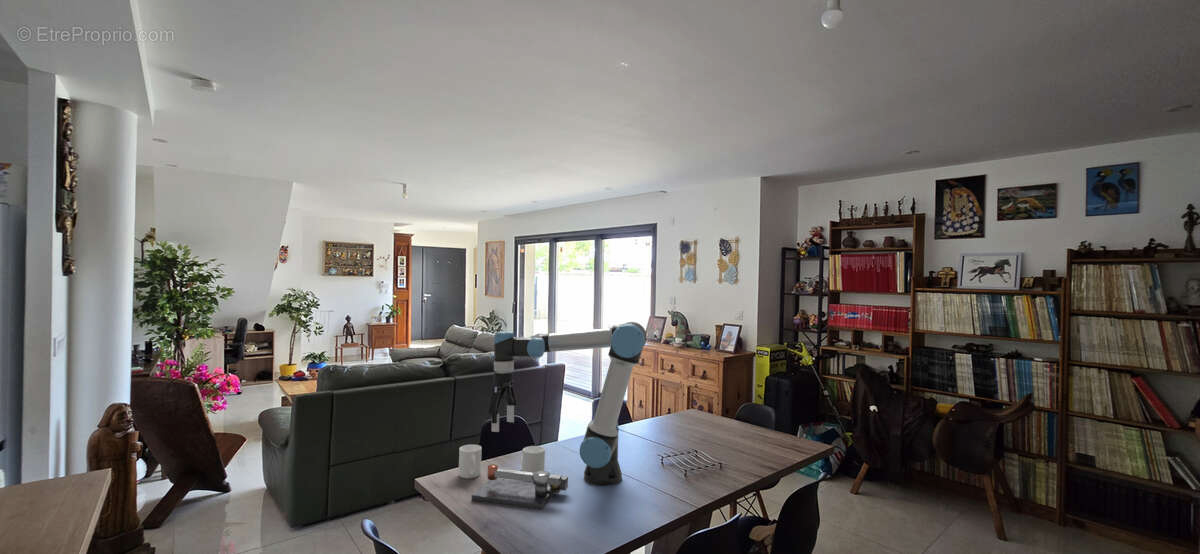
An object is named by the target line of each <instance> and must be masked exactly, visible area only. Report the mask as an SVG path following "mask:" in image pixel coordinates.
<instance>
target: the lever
mask: <svg viewBox="0 0 1200 554" xmlns="http://www.w3.org/2000/svg"><path fill="white" fill-rule="evenodd" d="M498 466H499V465H498V464H488V465H487V481H489V480H496V479H503V480H511V481H519V482H527V483H533V484H534V485H537V486H545V485H549V484H551V485H560V483H561V476H562V475H558V474H552V473H550V472H549V471H546V470H544V471H537V472H535V473H532V472H524V471H522V470H515V469H514V470H513V469H507V468H499V467H498Z"/></svg>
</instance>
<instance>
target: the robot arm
mask: <svg viewBox="0 0 1200 554" xmlns="http://www.w3.org/2000/svg"><path fill="white" fill-rule="evenodd" d="M647 338H648V336H647V331H646V329H645V327H644V326H642V325H641V324H640V323H638V322H635V321H629V322H625V323H621V324H615V325H611V326H610V327H609V328H608V327H607V328H600V329H599V328H598V329H597V328H596V329H587V330H585V329H584V330H576V331H575V330H574V331H564V332H563V331H561V332H551V333H537V334H535V335H531V336H528V337H526V336H525V337H517V336H515V332H514V331H507V330H505V331H504V330H503V331H497V332H495V334H494V340H493V341H494V342H493V364H492V365H493V371H494V373H493V382H494V383H496V384H497V385H496V386H493V387H492V394H491V399H490V404H489V410H488V414H489V415H491V432H494V433H499V432H500V413H499V411H500V408H501V405H502V402H503V399H504V398H505V400H506V402H507V405H506V422H507V423H515V406H517V401H518V400H517V396H516V391H515V387H514V384H515V383H514V372H513V371H514V370H515V367H514V364H515V362H514V360H515V359H514V358H517V357H519V358H520V357H521V358H532V359H534V358H542V357H543V356H544V354H545V353H552V352H565V351H566V352H567V351H568V352H569V351H579V350H590V349H591V350H592V349H605V348H606V349H607V348H609V351H608V356H609V357H608V358H609V359H610V362H609V366H608V369H607V372H606V376H605V379H604V383H603V387H602V390H601V393H600V397H599V401H598V404H597V407H596V411H595V414H594V417H593V419H592V420H591V421H590V422H589V423H588V424H587V428H586V431H585V434H584V438H583V439H582V440H583V441H582V442H581V443H580V446H579V456H580V459H581V461H582V462H583V463H584V464H585V467H584V471H583V480H584V481H585V482H586V483H588V484H591V485H594V486H601V487H602V486H603V487H605V486H606V487H608V486H609V487H610V486H613V485H614V486H615V485H617V484H619V483H621V482H622V477H623V473H622V469H621V466H620V463H619V455H618V454H619V431H620V429H619V423H618V421H619V416H620V414H621V410H622V406H623V403H624V399H625V396H626V393H627V389H628V386H629V382H630V378H631V376H632V371H633V369H634V367H636V366H637V365H639V363H640V360H641V355H642V352H643V349H644V346H645V345H646V344H647Z"/></svg>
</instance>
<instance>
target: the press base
mask: <svg viewBox="0 0 1200 554" xmlns="http://www.w3.org/2000/svg"><path fill="white" fill-rule="evenodd" d="M560 476H561V483H560V485H551V484H548V485H545V486H537V485H534V484H533V482H528V481H520V480H512V479H504V478H497V479H496V480H487V482H485V483H484V484H483V485H482V486H481V487H479V488H478V489H476V491H475V492H474V493H472V494H471V501H472V502H477V503H478V502H479V503H485V504H494V505H500V506H501V505H502V506H505V507H506V506H507V507H515V508H522V509H528V510H529V509H531V510H536V511H542V510H543V509H544V507H545V506H546V505H547V503H549V501H550V500H551V499H552V497H553V496H554V495H555V494H556V495H559V494H560V492H561V491H565V492H566V490H567V489H568V488H569V487H568V485H569V484H568V483H569V476H565V475H560Z"/></svg>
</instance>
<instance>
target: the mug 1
mask: <svg viewBox="0 0 1200 554" xmlns="http://www.w3.org/2000/svg"><path fill="white" fill-rule="evenodd" d="M458 450H459V451H458V453H459V456H458V476H459V477H460V478H462V479H474V478H478V477H479V476H480V475H481V473H482V472H481V471H482V450H483V449H482V446H481V445H478V444H465V445H462V446H460V447H459V449H458Z"/></svg>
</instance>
